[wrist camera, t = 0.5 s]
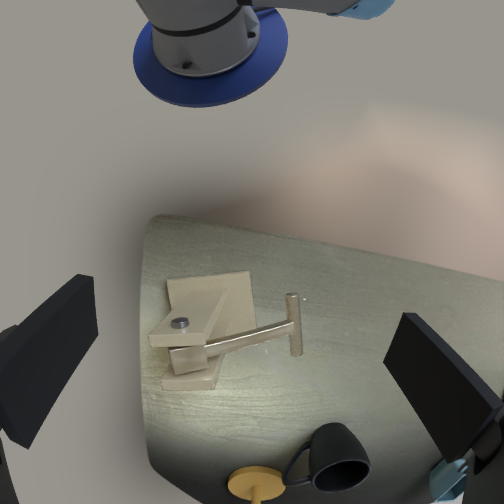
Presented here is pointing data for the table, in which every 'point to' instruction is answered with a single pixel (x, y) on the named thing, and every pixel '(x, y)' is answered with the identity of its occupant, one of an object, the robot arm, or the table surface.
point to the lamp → (256, 483)
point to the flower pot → (447, 481)
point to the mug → (332, 460)
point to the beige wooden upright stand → (204, 321)
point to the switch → (241, 341)
